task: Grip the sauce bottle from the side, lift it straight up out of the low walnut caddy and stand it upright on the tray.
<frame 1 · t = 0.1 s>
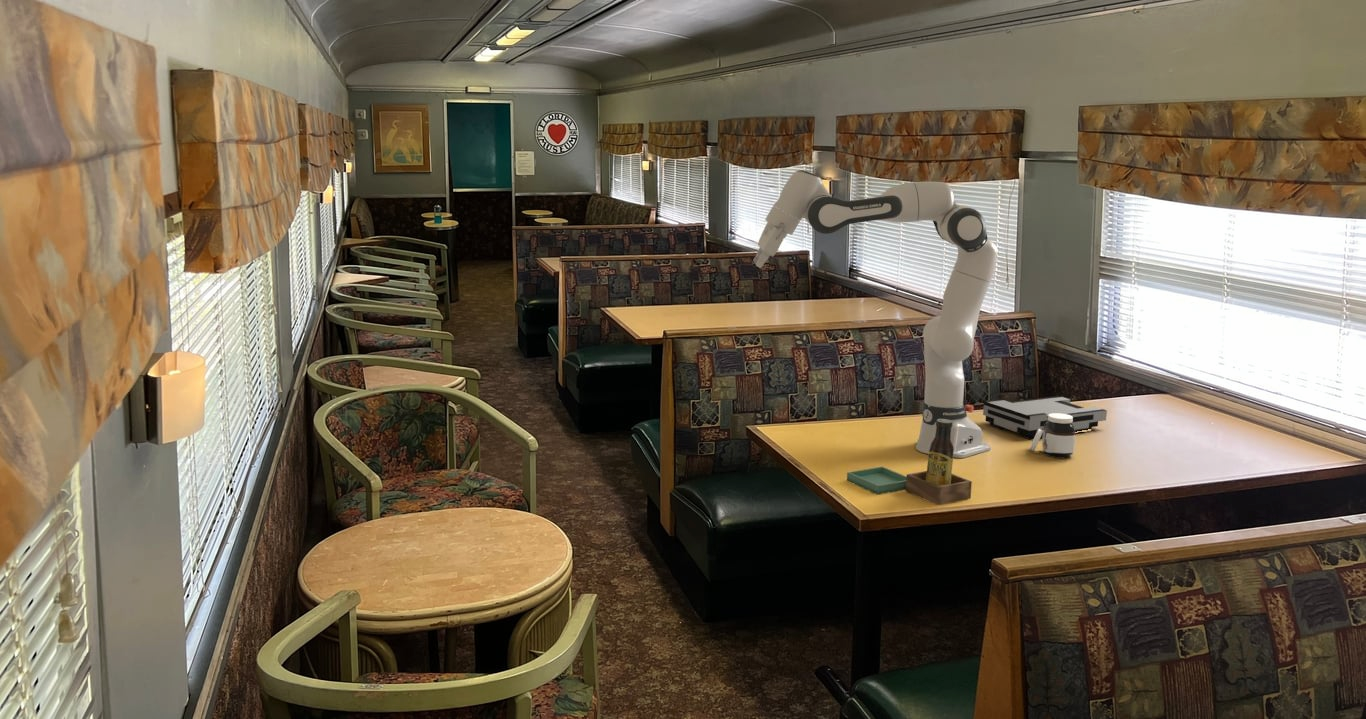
hand: (756, 264, 306), 54 cm above the table, tool tilted 30°, fingers open, 8 cm apart
tray: (879, 484, 285), on the table
game console: (1043, 429, 345), on the table
sauce bottle: (937, 495, 277), resting in caddy
spread jar: (1049, 454, 316), on the table
caddy: (937, 494, 277), on the table
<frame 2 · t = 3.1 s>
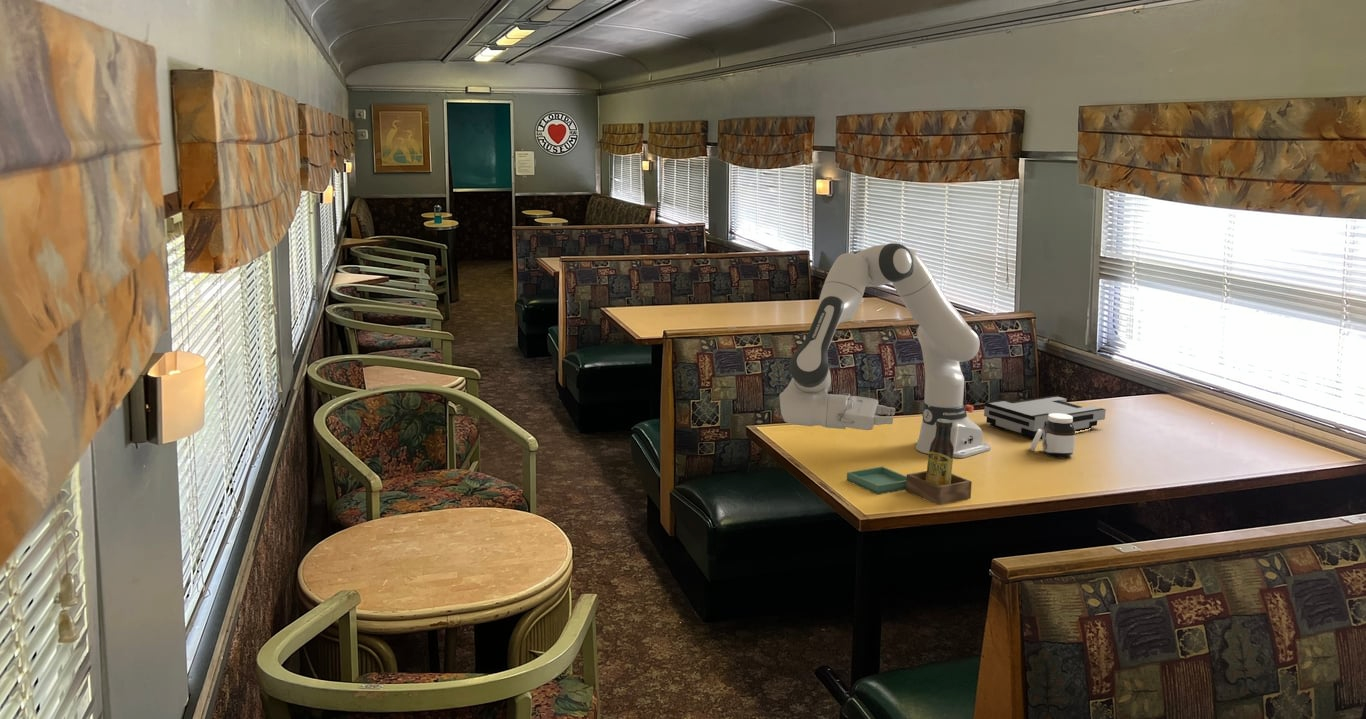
hand: (894, 415, 276), 20 cm above the table, tool horizontal, fingers open, 8 cm apart
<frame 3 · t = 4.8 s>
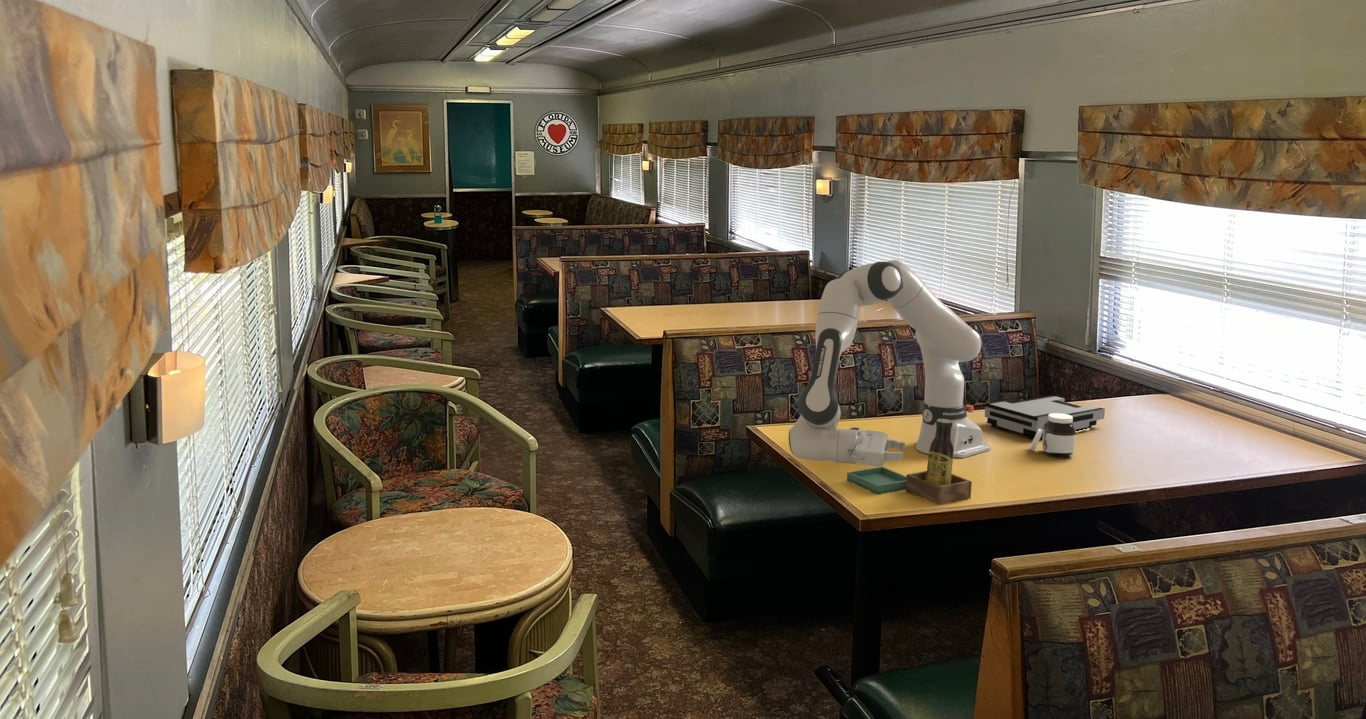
hand: (904, 450, 277), 11 cm above the table, tool horizontal, fingers open, 8 cm apart
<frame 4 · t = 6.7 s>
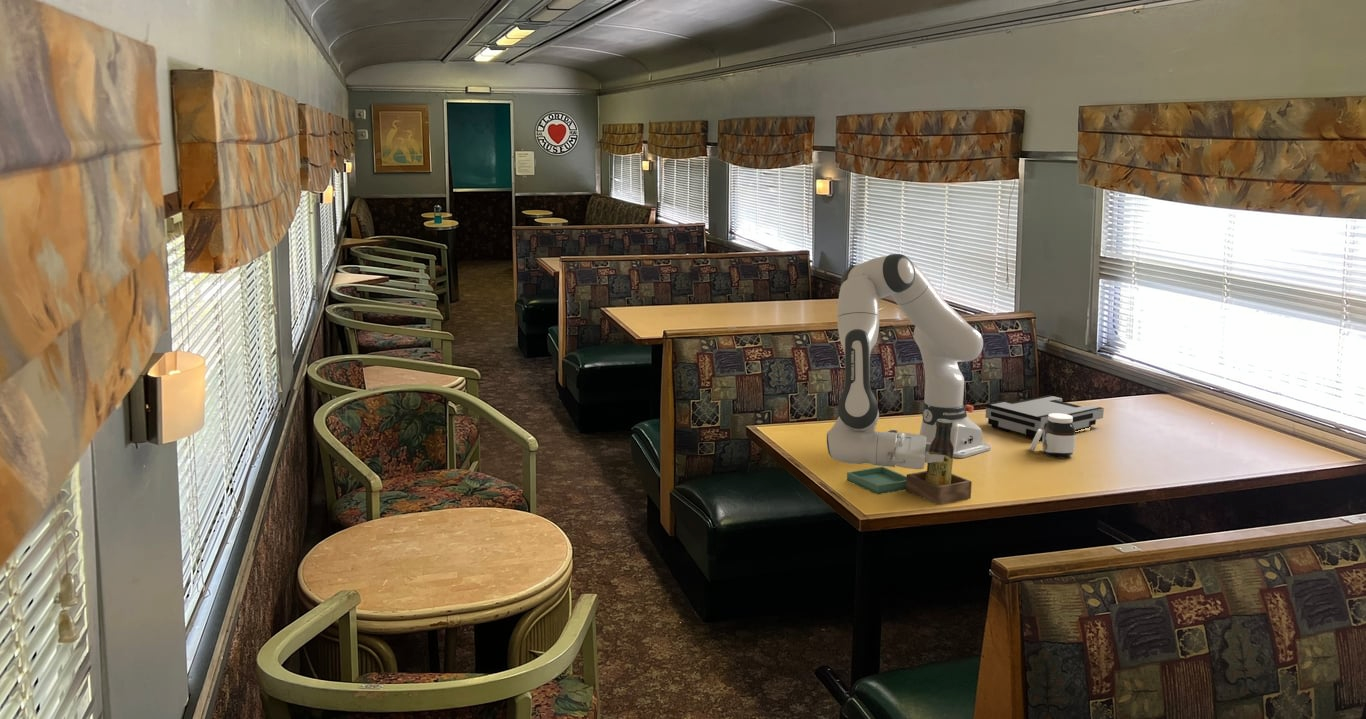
hand: (944, 453, 275), 11 cm above the table, tool horizontal, fingers closed on sauce bottle, 6 cm apart
sauce bottle: (937, 495, 277), resting in caddy, touching gripper
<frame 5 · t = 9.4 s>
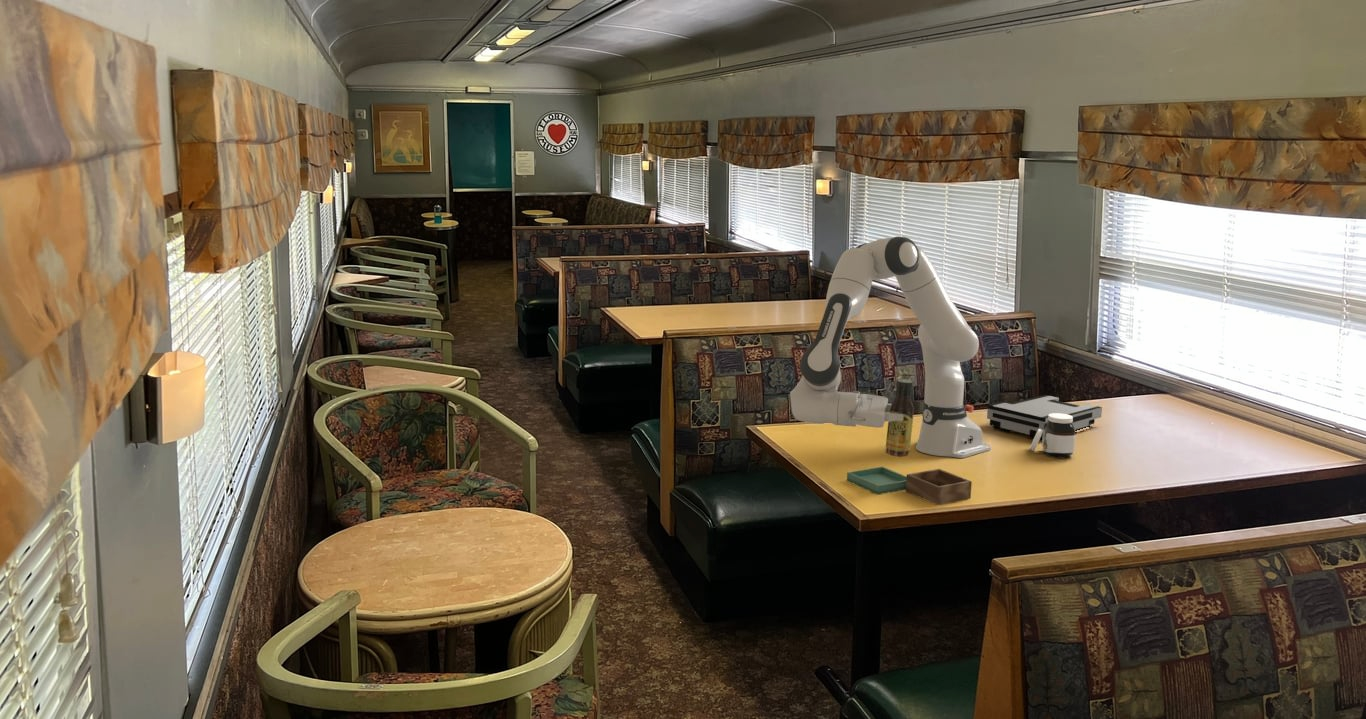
hand: (904, 413, 278), 20 cm above the table, tool horizontal, fingers closed on sauce bottle, 6 cm apart
sauce bottle: (897, 455, 281), point 9 cm above the table, touching gripper
when the fingers open (13 cm above the table, at t = 11.9 s): sauce bottle drops 1 cm, resting on tray.
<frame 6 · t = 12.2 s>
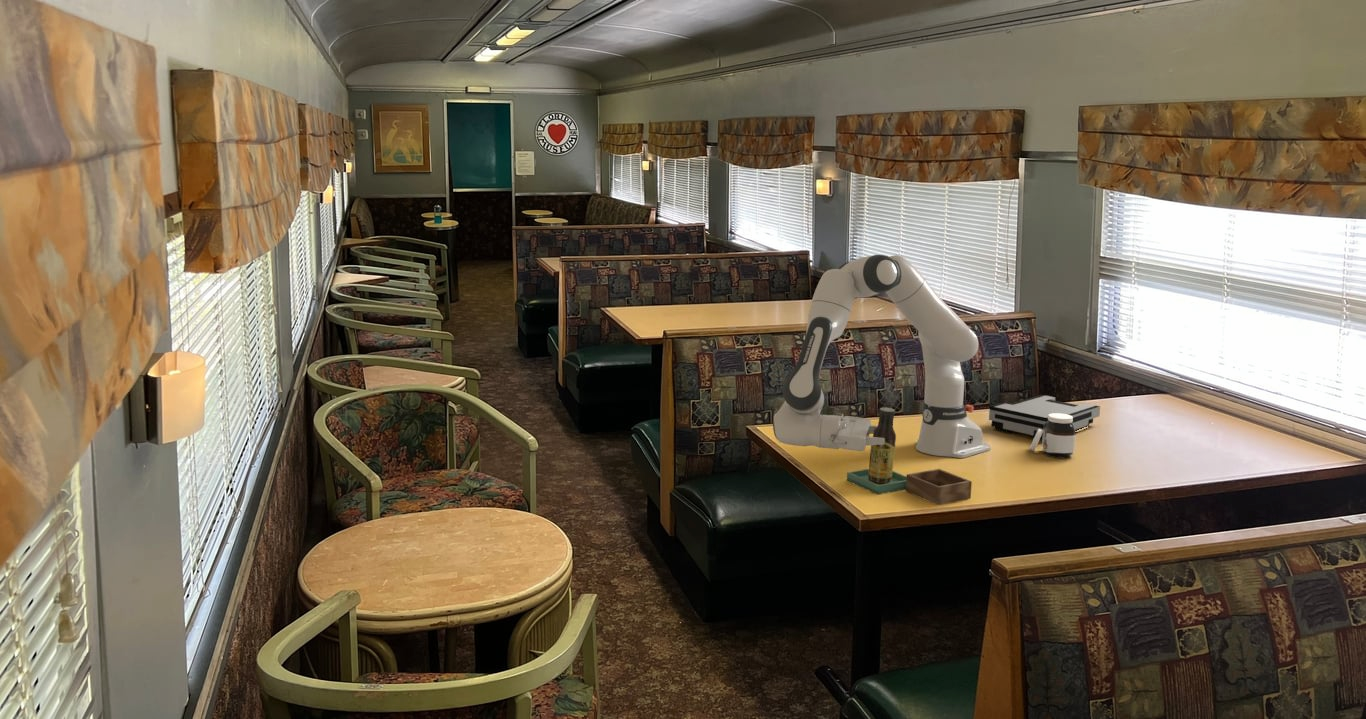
hand: (885, 436, 282), 13 cm above the table, tool horizontal, fingers open, 8 cm apart
sauce bottle: (880, 481, 285), point 1 cm above the table, touching tray
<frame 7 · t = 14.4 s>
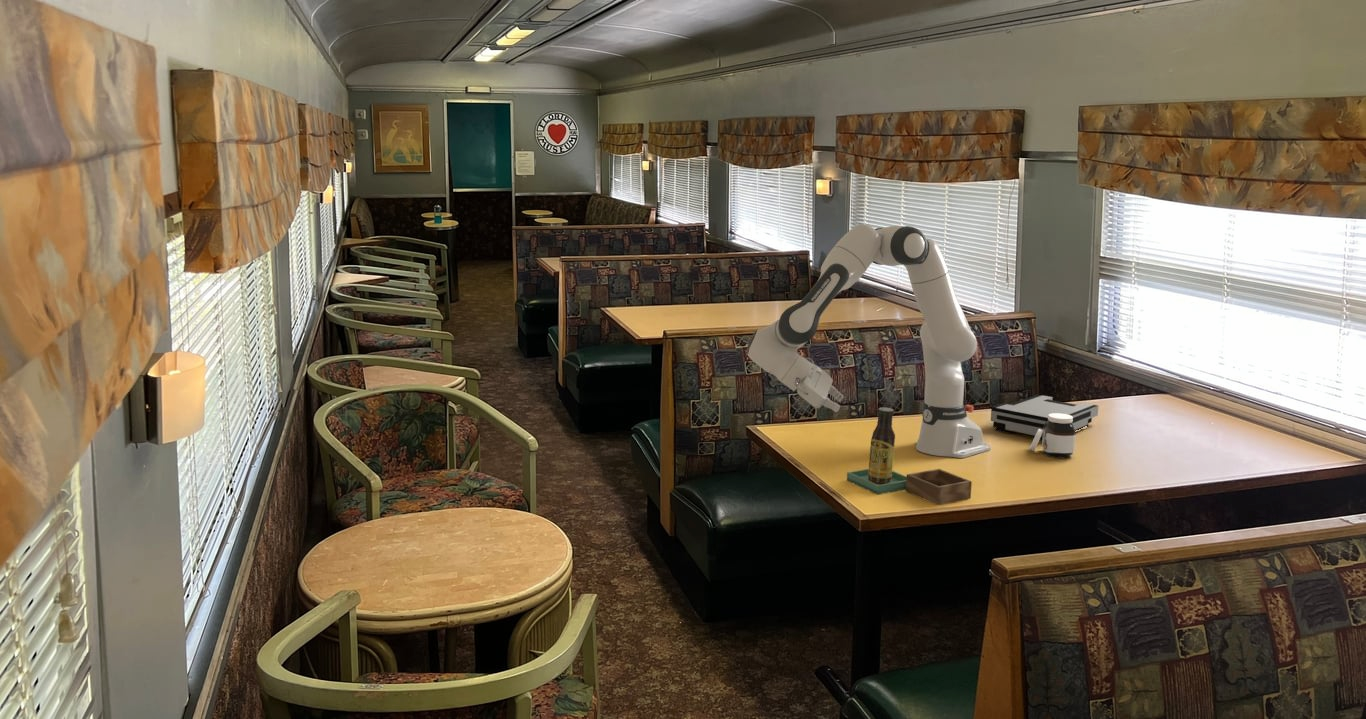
hand: (840, 404, 289), 20 cm above the table, tool tilted 55°, fingers open, 8 cm apart
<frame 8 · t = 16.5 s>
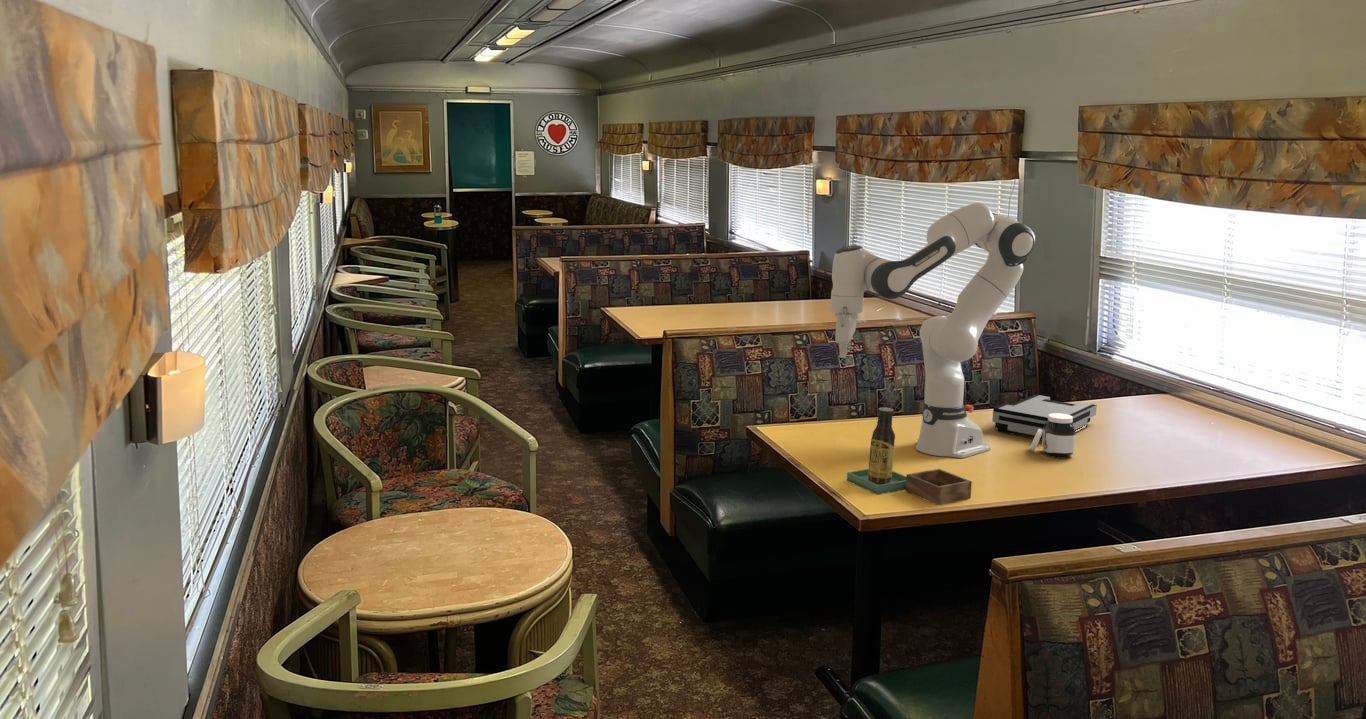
hand: (844, 354, 299), 31 cm above the table, tool pointing down, fingers open, 8 cm apart
at the end: sauce bottle inside the target area on the tray (0.1 cm from its centre), point 0.6 cm above the tray's base; sauce bottle tilted 0°; the gripper is holding nothing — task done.
